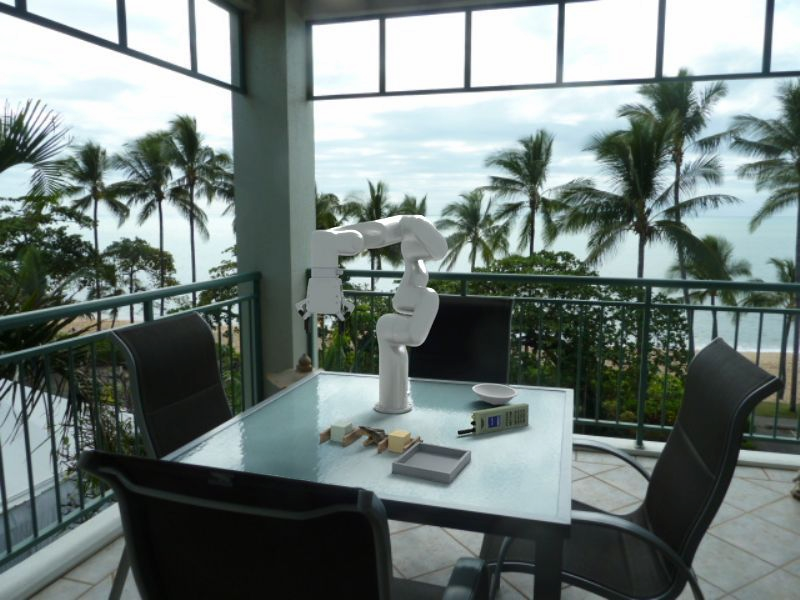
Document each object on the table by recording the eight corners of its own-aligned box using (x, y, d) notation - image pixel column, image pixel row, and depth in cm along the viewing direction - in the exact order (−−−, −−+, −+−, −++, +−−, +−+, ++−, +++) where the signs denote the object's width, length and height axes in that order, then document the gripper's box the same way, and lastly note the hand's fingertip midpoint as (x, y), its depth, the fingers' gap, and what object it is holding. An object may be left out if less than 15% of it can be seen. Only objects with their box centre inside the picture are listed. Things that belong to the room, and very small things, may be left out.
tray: (417, 450, 160) (417, 441, 159) (470, 459, 153) (471, 450, 153) (392, 472, 145) (392, 462, 145) (449, 484, 139) (449, 473, 139)
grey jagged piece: (364, 453, 160) (364, 431, 158) (353, 442, 165) (353, 421, 163) (389, 445, 164) (390, 423, 162) (377, 434, 169) (377, 413, 167)
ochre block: (395, 445, 164) (395, 429, 163) (410, 447, 162) (410, 432, 161) (388, 450, 160) (388, 434, 159) (403, 453, 158) (403, 437, 157)
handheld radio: (530, 426, 181) (461, 439, 169) (523, 423, 184) (455, 435, 172) (530, 404, 180) (461, 416, 169) (523, 402, 183) (455, 413, 171)
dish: (526, 409, 196) (527, 394, 196) (488, 414, 191) (489, 399, 190) (499, 395, 212) (499, 381, 212) (463, 399, 207) (463, 385, 207)
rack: (341, 429, 176) (341, 420, 176) (423, 442, 165) (423, 434, 165) (320, 442, 165) (319, 433, 165) (405, 457, 155) (405, 448, 154)
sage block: (338, 435, 171) (338, 420, 171) (352, 437, 169) (352, 422, 169) (330, 440, 167) (330, 425, 167) (344, 442, 165) (344, 427, 165)
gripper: (357, 273, 170) (357, 332, 172) (299, 272, 173) (300, 330, 175) (351, 275, 163) (351, 336, 165) (291, 273, 165) (291, 334, 167)
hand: (324, 333), depth 170 cm, fingers open, 9 cm apart
